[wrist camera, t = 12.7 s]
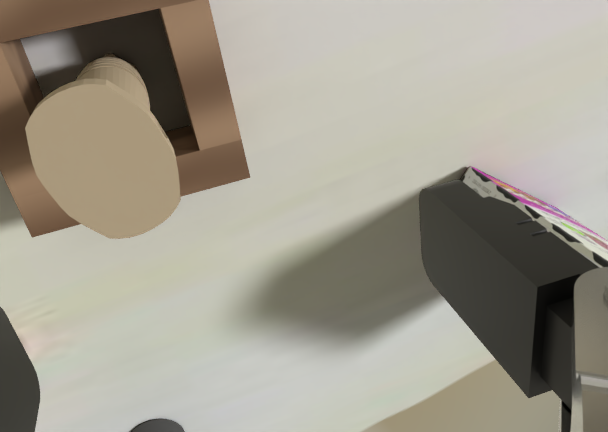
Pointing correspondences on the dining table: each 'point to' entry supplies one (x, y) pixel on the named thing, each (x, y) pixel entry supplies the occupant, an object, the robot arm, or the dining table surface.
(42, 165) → the handle
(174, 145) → the collar block
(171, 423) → the sundae
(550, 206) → the candy bar box
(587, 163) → the dining table surface
